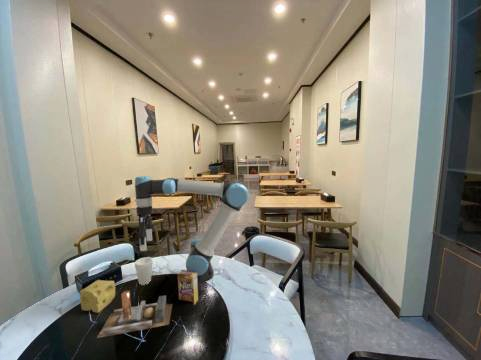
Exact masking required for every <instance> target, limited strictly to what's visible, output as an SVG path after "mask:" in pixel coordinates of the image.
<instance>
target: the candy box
mask: <svg viewBox="0 0 481 360" xmlns="http://www.w3.org/2000/svg"><path fill="white" fill-rule="evenodd" d="M177 285H178V300H181V301H186V302H189V303H193V306H195V305H196V304H197V302H198V301H199V289H198V288H199V287H198V283H197V272H193V271H187V269H181V270H180V271H178V273H177Z"/></svg>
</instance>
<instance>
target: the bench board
mask: <svg viewBox="0 0 481 360" xmlns="http://www.w3.org/2000/svg"><path fill="white" fill-rule="evenodd" d="M139 306H140V305H136V306H131V309H134V308H139ZM150 307H151V308H153V309H154V314H153V316H152V317H151V318H146V317H145V316H144V318H143V321H142V322H139V323H133V324H127V325H122V326H118V321H119V319H120V317H121V315H122V313H123V310H122V308H118V309H116V308H115V309H114V310H113V313H110V314H109V316H108V318H107V319H106V321H105V323H104V325H103V326H102V328H101V330H100V332H99V333H98V334H97V337H96V339H99V338H104V337H105V338H106V337H109V336H115V335H122V334H125V333H131V332H136V331H137V332H138V331H142V330H148V329H153V328H158V327H162V326H163V327H164V326H169V325H170V321H171V316H172V309H173V303H167V295H159V296H158V300H157V301H156V302H154V303H148V304H146V309H147V308H150Z"/></svg>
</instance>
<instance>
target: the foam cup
mask: <svg viewBox="0 0 481 360" xmlns="http://www.w3.org/2000/svg"><path fill="white" fill-rule="evenodd" d="M134 268H135V270H136V276H137V281H138V284H139V285H140V284H141V285H140V286H145V284H146V285H148V284H150V283H151V282H150V281H152V270H153V258H152V257H150V256H146V257H141V258H139V259H136V260H135V262H134ZM149 282H150V283H149Z"/></svg>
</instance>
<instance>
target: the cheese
mask: <svg viewBox="0 0 481 360" xmlns="http://www.w3.org/2000/svg"><path fill="white" fill-rule="evenodd" d="M79 296H80V307H81V311H87V312H90V311H92V312H93V313H101V311H102V310H103V309H105V307H107V306H109V305H110V304H111V303H112V302H113V301H114V298H115V297H116V284H115V280H101V279H97V280H95V281H94V282H92V283H91V284H89V285H87V286H86V287H85V288H83V289H80V290H79Z"/></svg>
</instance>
